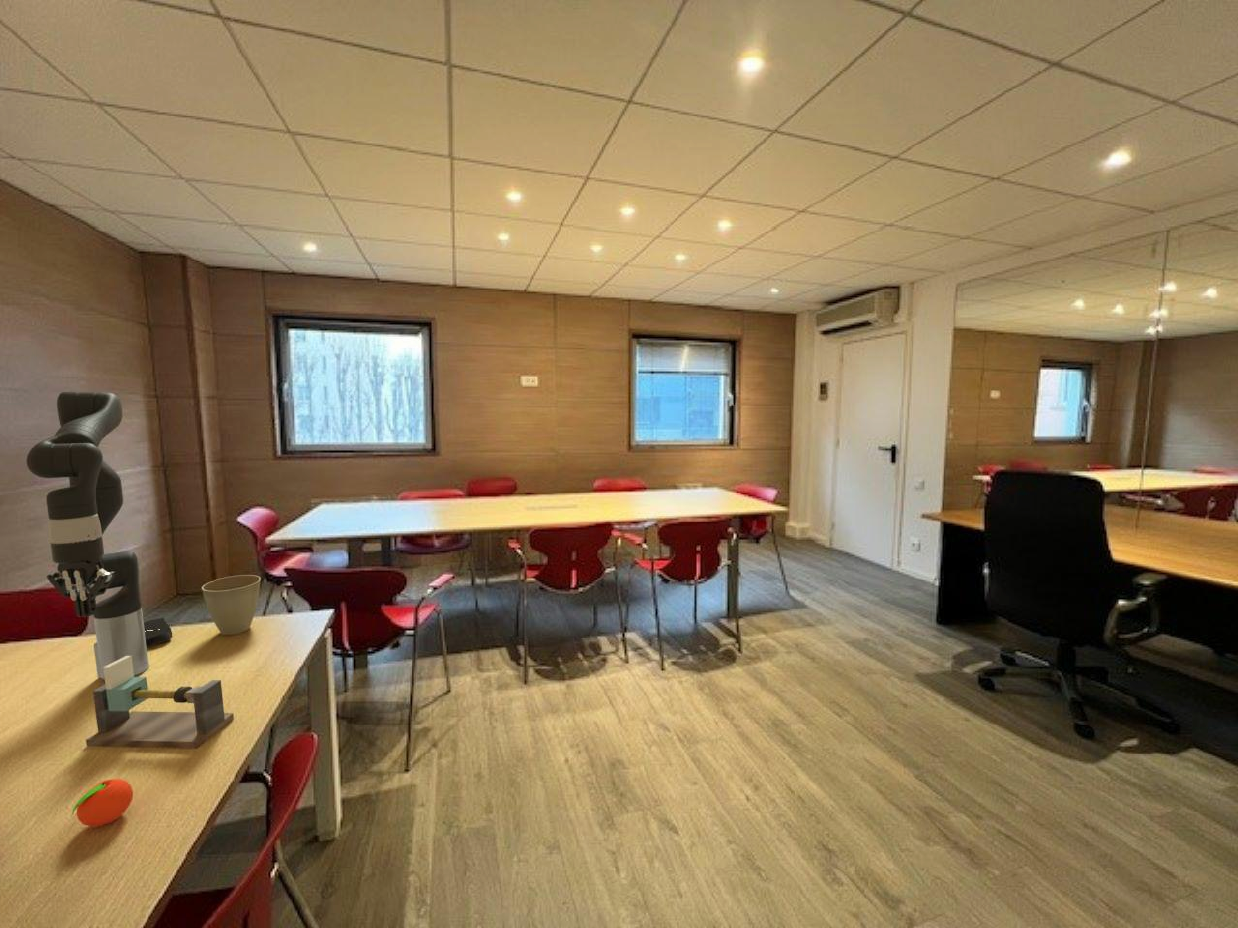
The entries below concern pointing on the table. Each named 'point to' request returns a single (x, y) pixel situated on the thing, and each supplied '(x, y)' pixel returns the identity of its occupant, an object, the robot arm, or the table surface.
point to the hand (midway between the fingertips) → (86, 615)
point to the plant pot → (232, 602)
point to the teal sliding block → (123, 685)
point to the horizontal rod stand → (162, 719)
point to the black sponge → (157, 631)
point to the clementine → (104, 802)
